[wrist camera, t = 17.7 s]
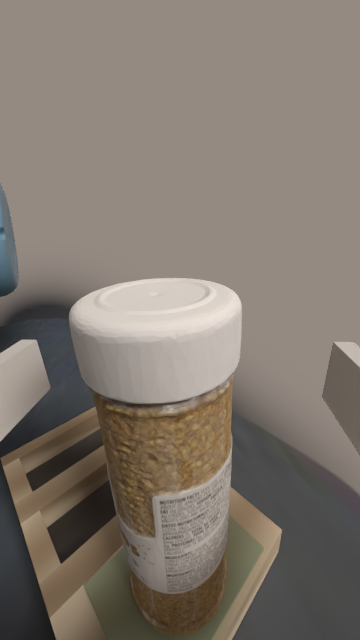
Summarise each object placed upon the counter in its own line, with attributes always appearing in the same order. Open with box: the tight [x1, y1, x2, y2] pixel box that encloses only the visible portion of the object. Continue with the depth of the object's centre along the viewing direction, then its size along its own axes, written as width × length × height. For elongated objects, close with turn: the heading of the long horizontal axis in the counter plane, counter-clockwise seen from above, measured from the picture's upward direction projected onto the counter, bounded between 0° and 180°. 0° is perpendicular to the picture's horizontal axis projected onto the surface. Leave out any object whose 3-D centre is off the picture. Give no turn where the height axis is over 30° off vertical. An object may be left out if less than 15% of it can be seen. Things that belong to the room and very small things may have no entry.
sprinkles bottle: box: [69, 278, 242, 636], centre depth 9 cm, size 5×5×13 cm
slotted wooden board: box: [0, 407, 282, 640], centre depth 16 cm, size 16×10×2 cm, turn 44°
